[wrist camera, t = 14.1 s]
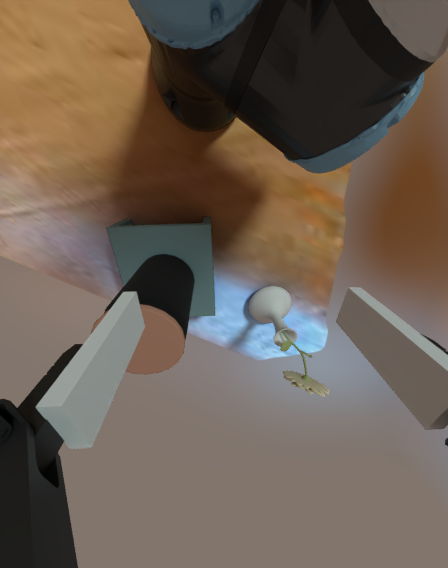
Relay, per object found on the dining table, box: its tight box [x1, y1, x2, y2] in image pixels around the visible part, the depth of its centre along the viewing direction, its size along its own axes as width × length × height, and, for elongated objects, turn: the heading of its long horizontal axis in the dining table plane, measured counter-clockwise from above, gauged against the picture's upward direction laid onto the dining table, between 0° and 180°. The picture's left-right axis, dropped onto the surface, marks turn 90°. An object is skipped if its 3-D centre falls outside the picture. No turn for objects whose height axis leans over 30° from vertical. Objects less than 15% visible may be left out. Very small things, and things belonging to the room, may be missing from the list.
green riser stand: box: [106, 217, 215, 317], centre depth 42 cm, size 20×18×8 cm
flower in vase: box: [248, 286, 330, 397], centre depth 42 cm, size 13×11×25 cm
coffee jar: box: [91, 254, 195, 374], centre depth 31 cm, size 11×11×18 cm
